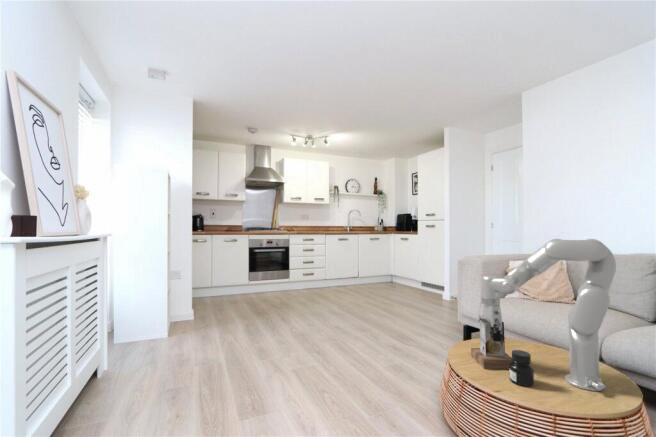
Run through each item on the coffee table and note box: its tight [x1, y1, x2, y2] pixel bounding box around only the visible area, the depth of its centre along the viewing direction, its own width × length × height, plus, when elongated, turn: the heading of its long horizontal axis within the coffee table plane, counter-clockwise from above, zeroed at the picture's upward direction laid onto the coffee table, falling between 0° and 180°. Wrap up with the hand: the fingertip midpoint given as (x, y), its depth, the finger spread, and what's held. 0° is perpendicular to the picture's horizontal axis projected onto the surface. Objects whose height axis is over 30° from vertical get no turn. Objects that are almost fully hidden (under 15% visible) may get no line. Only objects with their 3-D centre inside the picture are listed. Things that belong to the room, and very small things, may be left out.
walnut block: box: [470, 347, 512, 370], centre depth 151 cm, size 14×14×4 cm
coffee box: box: [479, 318, 506, 356], centre depth 151 cm, size 9×6×16 cm
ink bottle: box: [508, 349, 535, 388], centre depth 132 cm, size 10×9×12 cm
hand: (491, 337), depth 151 cm, fingers open, 9 cm apart
